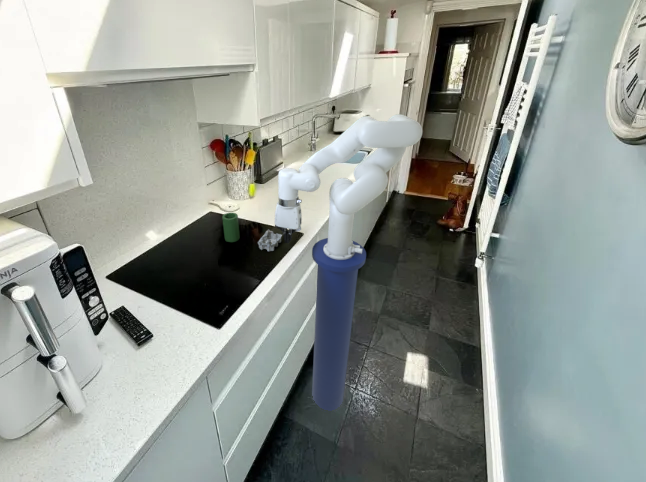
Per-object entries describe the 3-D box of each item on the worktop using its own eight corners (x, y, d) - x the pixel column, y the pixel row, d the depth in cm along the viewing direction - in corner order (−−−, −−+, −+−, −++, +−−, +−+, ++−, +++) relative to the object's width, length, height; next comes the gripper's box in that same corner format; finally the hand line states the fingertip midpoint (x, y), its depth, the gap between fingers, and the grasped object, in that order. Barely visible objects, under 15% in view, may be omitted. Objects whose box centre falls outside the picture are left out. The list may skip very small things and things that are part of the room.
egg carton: (268, 236, 135) (268, 228, 133) (284, 240, 131) (284, 232, 129) (255, 248, 126) (255, 239, 125) (271, 253, 123) (271, 244, 121)
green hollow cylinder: (242, 235, 136) (240, 213, 131) (235, 243, 130) (233, 220, 126) (229, 233, 138) (226, 211, 133) (222, 240, 132) (219, 218, 128)
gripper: (309, 199, 118) (307, 240, 126) (273, 194, 123) (273, 233, 131) (304, 207, 112) (303, 249, 120) (266, 202, 117) (267, 242, 125)
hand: (287, 241), depth 125 cm, fingers closed
